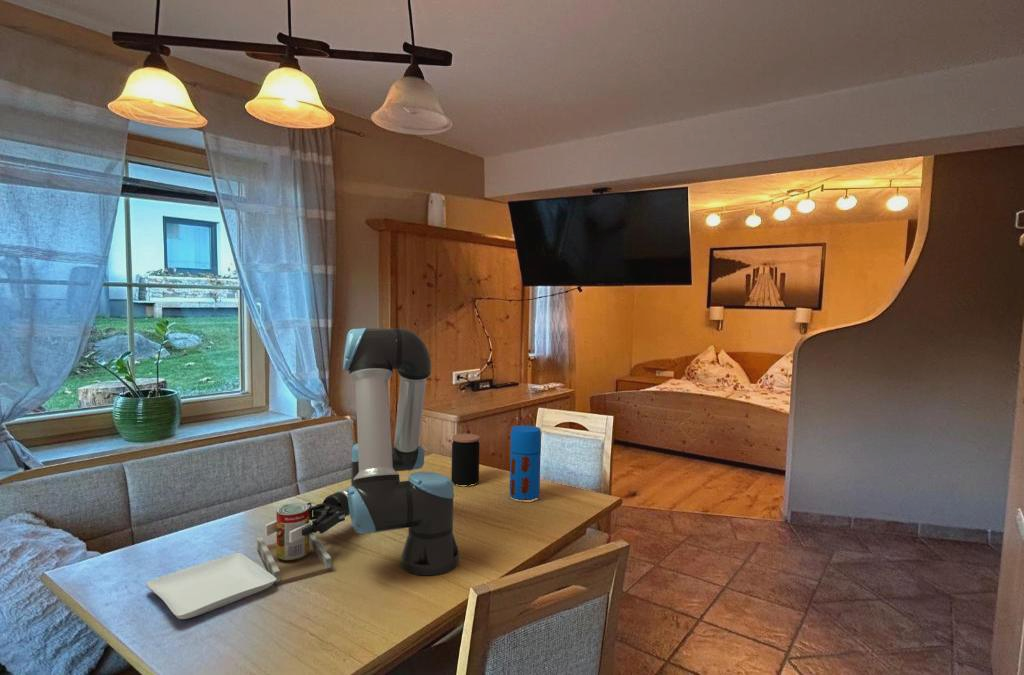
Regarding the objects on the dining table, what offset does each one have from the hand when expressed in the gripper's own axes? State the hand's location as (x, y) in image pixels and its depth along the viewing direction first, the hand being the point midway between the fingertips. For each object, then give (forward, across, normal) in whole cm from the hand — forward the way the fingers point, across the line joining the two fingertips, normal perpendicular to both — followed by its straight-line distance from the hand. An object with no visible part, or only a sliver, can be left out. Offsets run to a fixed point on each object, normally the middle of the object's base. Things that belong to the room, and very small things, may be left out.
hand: (278, 533), depth 133 cm
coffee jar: (-80, -9, -10) cm, 81 cm away
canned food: (-5, 0, -7) cm, 9 cm away
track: (-5, 0, -9) cm, 10 cm away
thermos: (-76, -36, -9) cm, 85 cm away
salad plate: (+15, +4, -10) cm, 18 cm away
